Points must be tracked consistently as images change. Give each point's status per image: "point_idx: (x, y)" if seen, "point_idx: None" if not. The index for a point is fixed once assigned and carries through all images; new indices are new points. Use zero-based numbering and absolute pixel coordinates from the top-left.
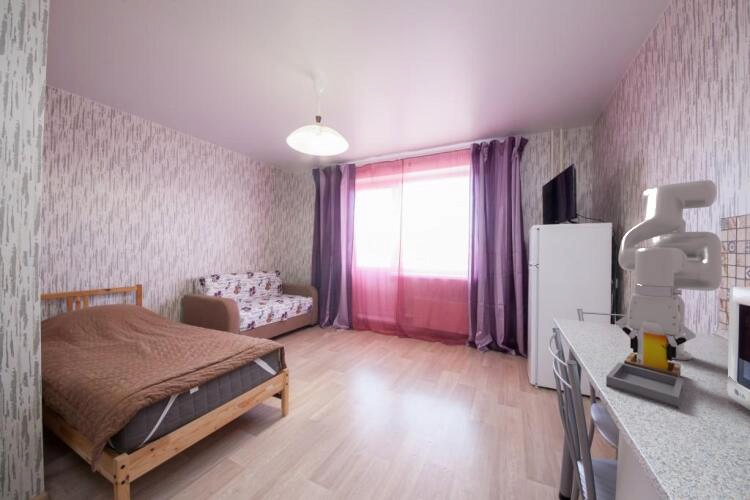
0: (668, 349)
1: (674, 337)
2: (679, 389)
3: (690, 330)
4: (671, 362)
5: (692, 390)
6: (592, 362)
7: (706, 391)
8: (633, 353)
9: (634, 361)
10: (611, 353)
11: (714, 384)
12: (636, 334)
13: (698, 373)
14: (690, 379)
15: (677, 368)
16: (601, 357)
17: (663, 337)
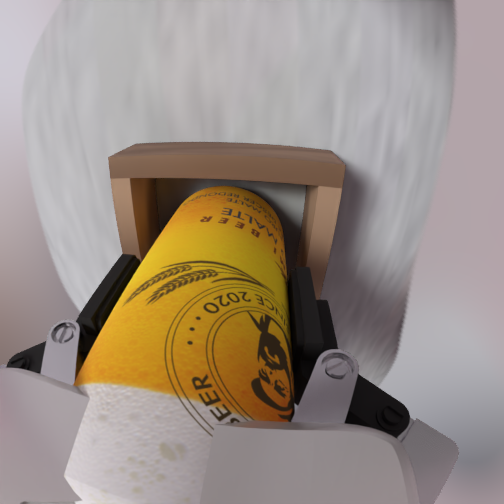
0: None
1: (338, 418)
2: (295, 409)
3: (437, 491)
4: (304, 168)
5: (339, 308)
6: (71, 278)
7: (377, 284)
8: (119, 161)
9: (147, 178)
10: (57, 75)
11: (425, 178)
12: (82, 353)
13: (397, 53)
14: (360, 184)
15: (320, 267)
16: (54, 187)
17: None
